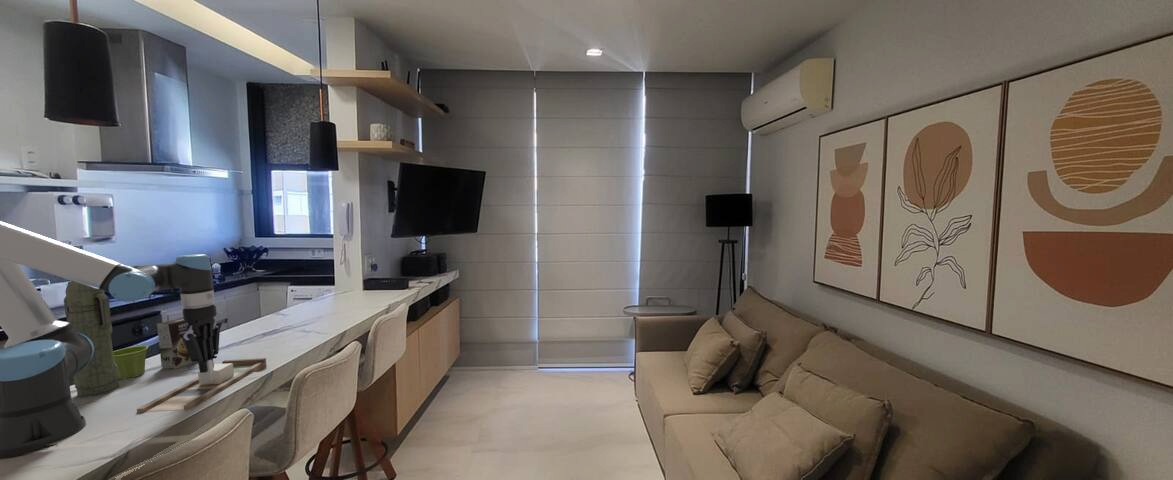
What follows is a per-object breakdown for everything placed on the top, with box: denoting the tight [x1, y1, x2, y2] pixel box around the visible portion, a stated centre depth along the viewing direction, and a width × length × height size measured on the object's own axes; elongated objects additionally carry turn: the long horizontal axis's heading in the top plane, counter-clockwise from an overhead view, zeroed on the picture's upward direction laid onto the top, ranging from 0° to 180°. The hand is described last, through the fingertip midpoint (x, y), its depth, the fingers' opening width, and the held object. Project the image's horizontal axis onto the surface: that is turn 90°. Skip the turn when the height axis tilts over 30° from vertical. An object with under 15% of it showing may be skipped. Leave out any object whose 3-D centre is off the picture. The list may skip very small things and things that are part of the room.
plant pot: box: [113, 345, 149, 380], centre depth 146 cm, size 9×9×9 cm
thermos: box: [63, 280, 120, 398], centre depth 133 cm, size 9×12×35 cm
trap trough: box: [136, 357, 268, 414], centre depth 134 cm, size 33×13×3 cm, turn 6°
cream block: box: [197, 363, 234, 385], centre depth 137 cm, size 6×6×4 cm
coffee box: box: [156, 316, 195, 370], centre depth 155 cm, size 9×6×16 cm
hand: (208, 381), depth 133 cm, fingers closed
